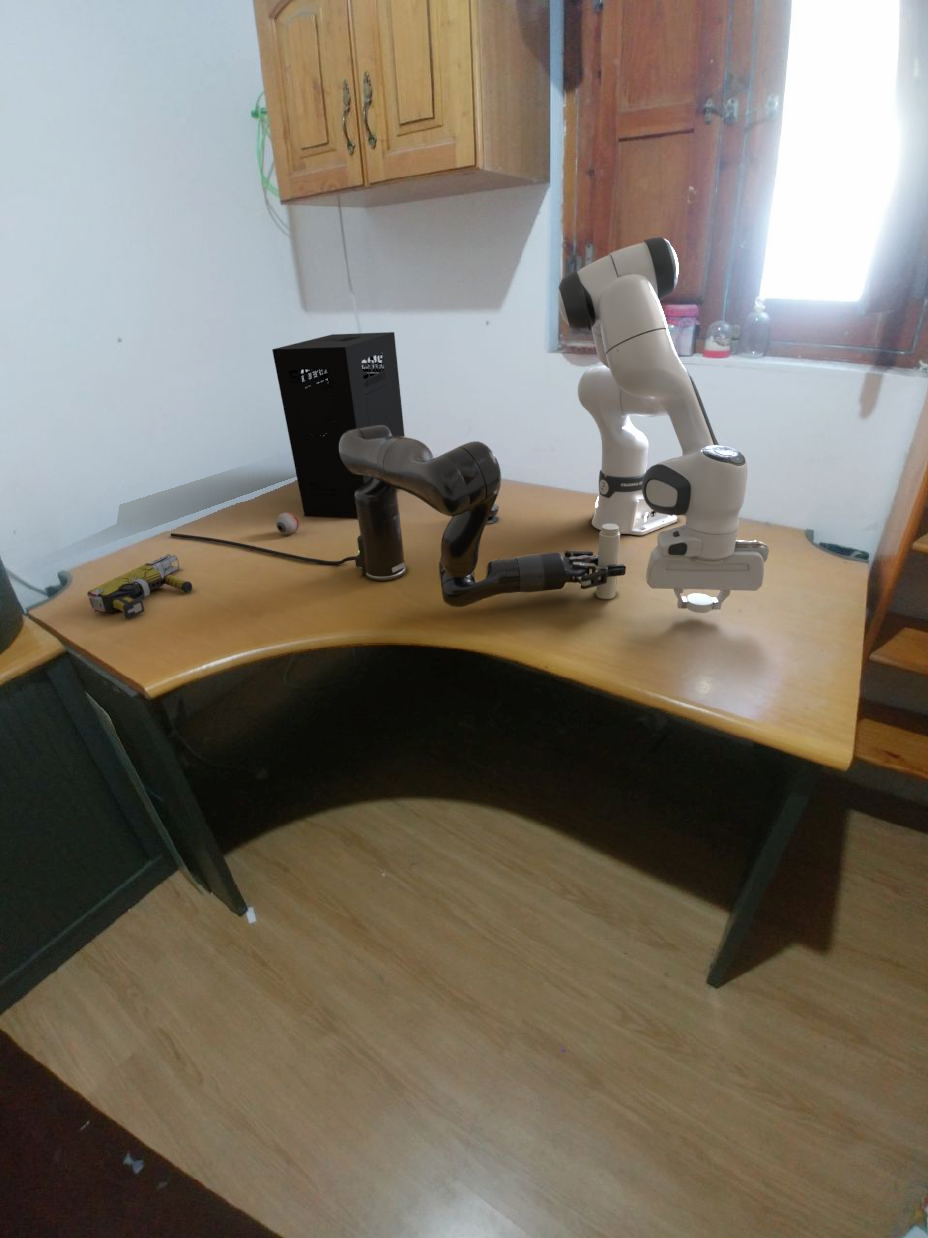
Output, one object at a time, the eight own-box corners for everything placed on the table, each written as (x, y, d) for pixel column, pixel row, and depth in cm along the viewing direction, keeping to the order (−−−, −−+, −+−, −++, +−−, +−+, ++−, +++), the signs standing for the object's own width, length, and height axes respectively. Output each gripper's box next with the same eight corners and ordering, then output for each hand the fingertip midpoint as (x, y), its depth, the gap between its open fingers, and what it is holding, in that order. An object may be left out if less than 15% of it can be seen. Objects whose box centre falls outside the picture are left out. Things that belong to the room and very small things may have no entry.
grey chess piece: (497, 523, 164) (496, 480, 158) (476, 523, 165) (474, 480, 159) (501, 516, 168) (500, 473, 162) (480, 515, 170) (478, 473, 164)
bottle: (612, 600, 124) (618, 531, 116) (593, 597, 125) (597, 528, 118) (617, 591, 127) (622, 523, 119) (598, 589, 128) (602, 521, 121)
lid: (690, 598, 118) (691, 590, 117) (716, 604, 115) (717, 597, 114) (680, 608, 114) (682, 600, 114) (707, 615, 112) (708, 608, 111)
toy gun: (216, 562, 143) (165, 551, 147) (137, 606, 123) (80, 592, 127) (219, 580, 145) (169, 569, 149) (142, 626, 125) (86, 611, 129)
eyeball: (273, 537, 164) (268, 516, 161) (287, 528, 169) (282, 508, 166) (291, 539, 161) (286, 518, 158) (305, 530, 166) (301, 510, 163)
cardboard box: (368, 517, 173) (345, 346, 150) (304, 515, 177) (272, 349, 155) (408, 478, 204) (394, 331, 182) (353, 477, 209) (332, 334, 186)
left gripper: (547, 570, 114) (635, 562, 115) (531, 542, 126) (610, 534, 127) (546, 605, 117) (632, 596, 119) (530, 574, 130) (608, 566, 131)
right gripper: (765, 534, 109) (751, 601, 116) (649, 533, 112) (642, 598, 119) (776, 548, 104) (760, 617, 111) (653, 546, 107) (645, 614, 114)
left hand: (620, 564), depth 123 cm, fingers closed on bottle, 4 cm apart
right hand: (698, 607), depth 115 cm, fingers closed on lid, 5 cm apart
